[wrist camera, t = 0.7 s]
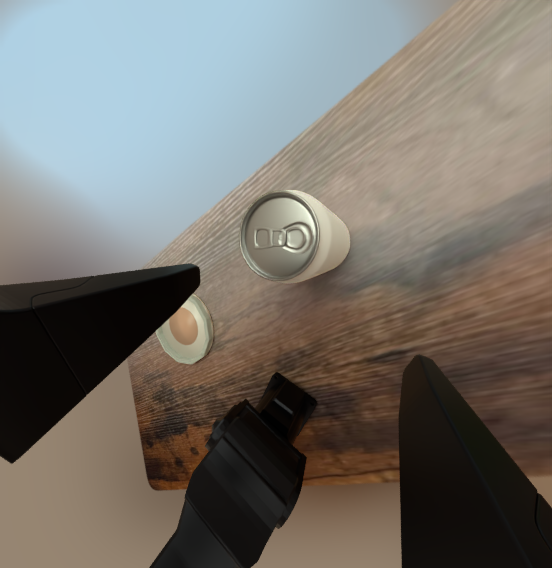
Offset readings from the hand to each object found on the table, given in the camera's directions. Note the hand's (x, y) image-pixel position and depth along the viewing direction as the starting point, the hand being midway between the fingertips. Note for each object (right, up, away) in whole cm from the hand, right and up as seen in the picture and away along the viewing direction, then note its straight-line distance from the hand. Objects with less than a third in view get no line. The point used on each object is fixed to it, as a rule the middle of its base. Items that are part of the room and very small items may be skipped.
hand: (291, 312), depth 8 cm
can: (+5, +6, +16) cm, 18 cm away
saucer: (-16, -6, +27) cm, 32 cm away
